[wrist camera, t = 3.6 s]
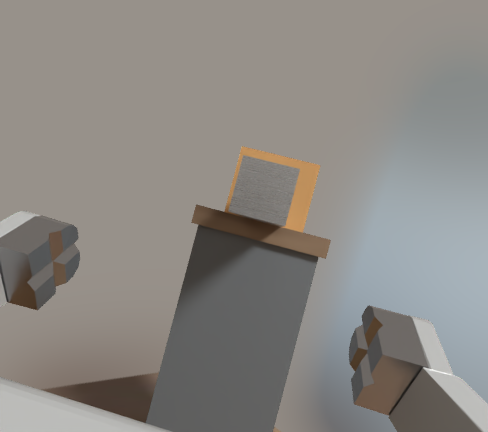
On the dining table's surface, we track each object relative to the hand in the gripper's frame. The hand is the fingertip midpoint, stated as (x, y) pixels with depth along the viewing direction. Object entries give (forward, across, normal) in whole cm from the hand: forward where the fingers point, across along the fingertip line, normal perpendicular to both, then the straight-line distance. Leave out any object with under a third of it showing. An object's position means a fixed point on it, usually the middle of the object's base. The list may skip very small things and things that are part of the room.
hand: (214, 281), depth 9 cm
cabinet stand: (+5, 0, -35) cm, 35 cm away
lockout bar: (+16, 0, -7) cm, 17 cm away
